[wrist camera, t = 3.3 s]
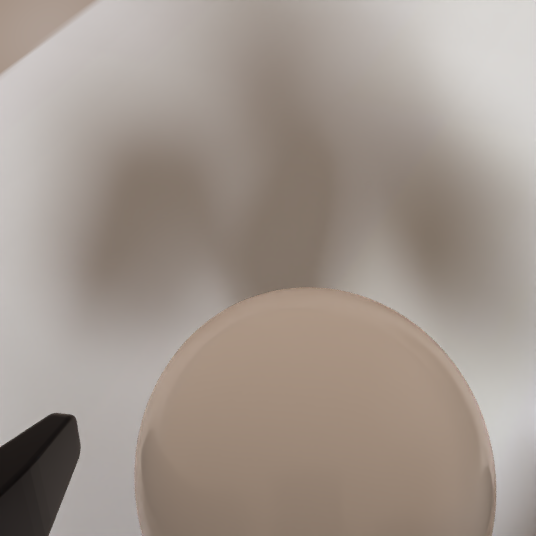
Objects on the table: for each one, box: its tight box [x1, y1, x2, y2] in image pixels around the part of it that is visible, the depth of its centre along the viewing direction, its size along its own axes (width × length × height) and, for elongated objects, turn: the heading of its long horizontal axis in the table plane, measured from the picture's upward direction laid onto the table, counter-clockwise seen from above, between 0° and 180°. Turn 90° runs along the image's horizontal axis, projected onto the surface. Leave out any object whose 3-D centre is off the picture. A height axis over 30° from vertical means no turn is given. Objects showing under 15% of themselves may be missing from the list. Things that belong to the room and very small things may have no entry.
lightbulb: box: [134, 287, 496, 536], centre depth 11 cm, size 6×6×11 cm
